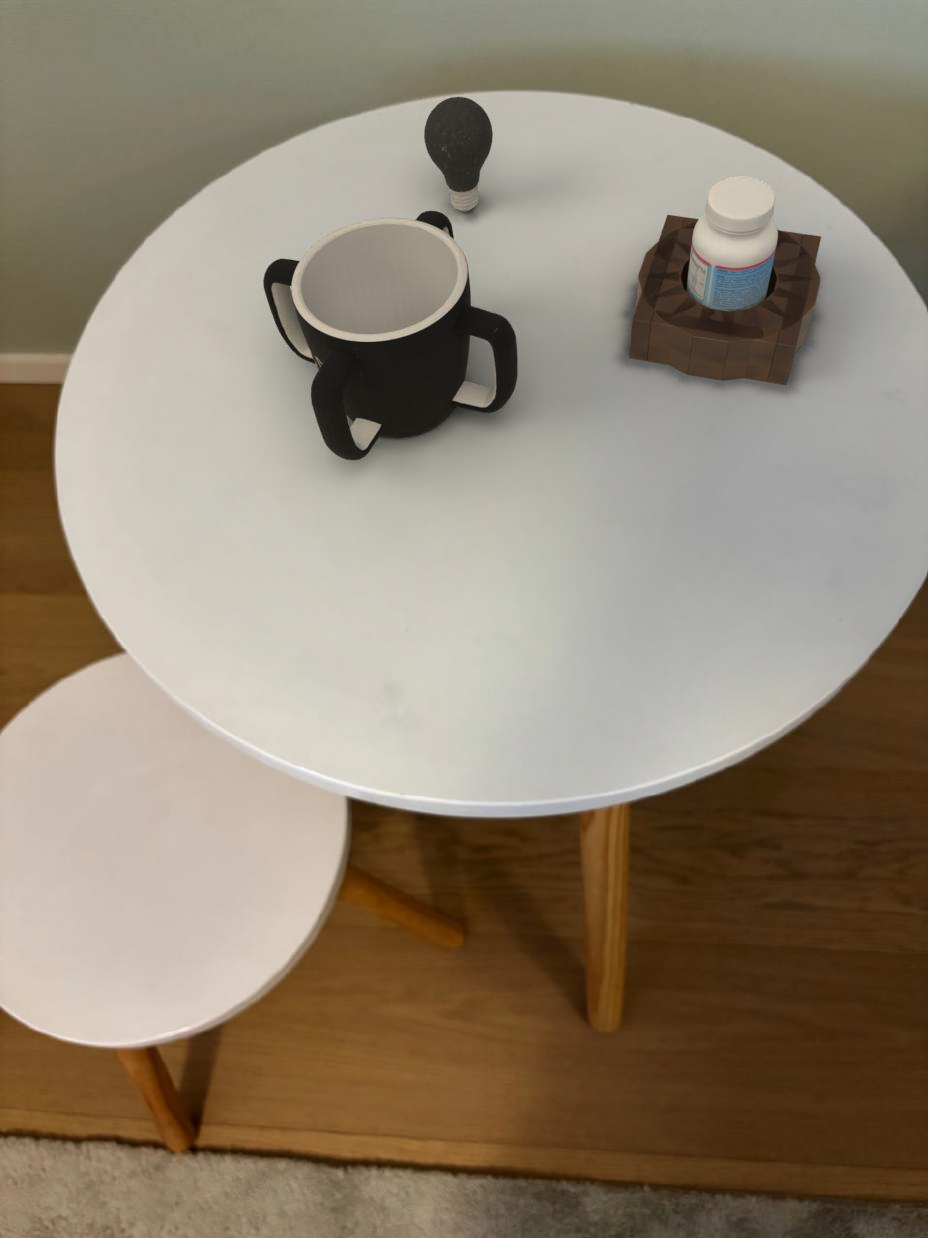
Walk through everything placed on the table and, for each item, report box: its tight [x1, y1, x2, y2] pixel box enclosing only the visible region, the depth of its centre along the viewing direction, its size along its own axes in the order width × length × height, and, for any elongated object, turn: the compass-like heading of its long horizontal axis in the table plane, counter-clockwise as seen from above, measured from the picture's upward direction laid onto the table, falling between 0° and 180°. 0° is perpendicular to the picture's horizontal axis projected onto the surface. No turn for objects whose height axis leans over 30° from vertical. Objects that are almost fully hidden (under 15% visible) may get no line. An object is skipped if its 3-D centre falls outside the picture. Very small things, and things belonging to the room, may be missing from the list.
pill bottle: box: [686, 175, 779, 311], centre depth 77 cm, size 6×6×11 cm
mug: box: [262, 210, 519, 461], centre depth 75 cm, size 16×16×12 cm
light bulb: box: [423, 96, 494, 213], centre depth 87 cm, size 6×6×10 cm
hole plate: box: [629, 214, 822, 386], centre depth 80 cm, size 13×13×4 cm
